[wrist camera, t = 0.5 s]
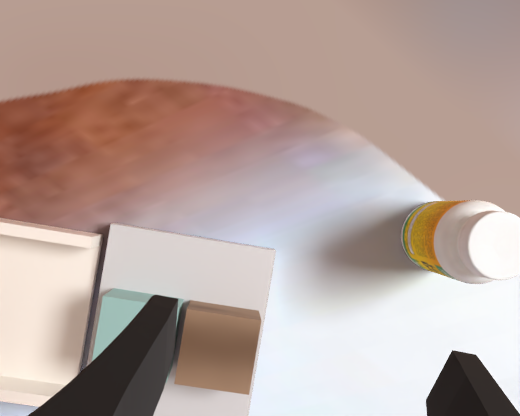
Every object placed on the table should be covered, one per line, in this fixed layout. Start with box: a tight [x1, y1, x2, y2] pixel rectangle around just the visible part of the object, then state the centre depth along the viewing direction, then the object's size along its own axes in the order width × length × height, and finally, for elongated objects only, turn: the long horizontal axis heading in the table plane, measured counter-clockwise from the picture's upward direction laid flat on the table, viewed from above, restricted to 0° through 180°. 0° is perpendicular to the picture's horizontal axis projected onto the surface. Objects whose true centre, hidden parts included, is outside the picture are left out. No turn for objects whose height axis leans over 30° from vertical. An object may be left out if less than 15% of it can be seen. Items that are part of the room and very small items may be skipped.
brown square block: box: [174, 300, 261, 395], centre depth 33 cm, size 5×5×3 cm
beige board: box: [86, 223, 276, 416], centre depth 35 cm, size 14×12×2 cm
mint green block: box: [92, 288, 184, 383], centre depth 33 cm, size 5×5×3 cm
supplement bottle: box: [401, 200, 520, 284], centre depth 32 cm, size 5×5×10 cm
